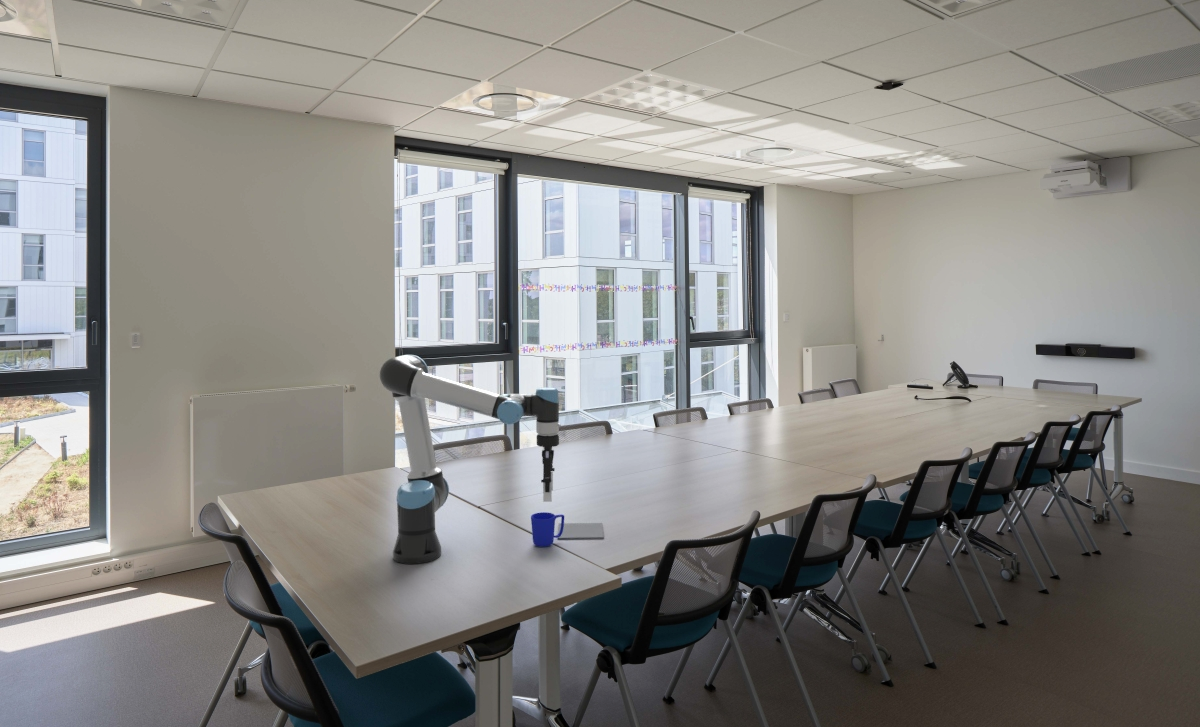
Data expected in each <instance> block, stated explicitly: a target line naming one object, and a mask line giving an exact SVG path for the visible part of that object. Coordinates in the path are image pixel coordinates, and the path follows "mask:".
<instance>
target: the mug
mask: <svg viewBox="0 0 1200 727" xmlns="http://www.w3.org/2000/svg"><path fill="white" fill-rule="evenodd" d="M557 518H561V520H560V521H561V522H560V523H561V529H560V532H559V534H558V533H557V534H556V535H555V527H556V526H555V525H556V519H557ZM530 522H531V524H530V525H531V531H532V532H531V533H532V534H531V535H532V543H533V544H534V546H535V547H538V548H547V547H550V546H552V545H553V543H554V541H555V538H557V539H558V537H560V536H561V534H562V532H563V527H564V523H565V515H564V514H554V513H552V512H545V511H544V512H543V511H542V512H536V513H533V514H532V515H530Z"/></svg>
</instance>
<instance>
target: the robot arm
mask: <svg viewBox="0 0 1200 727" xmlns="http://www.w3.org/2000/svg"><path fill="white" fill-rule="evenodd" d="M379 380H380V383H381V385H382V386H383V387H384V388H385V389H386V390H387V391H388V392H390V393H391V394H392V397H393V398H392V399H394V400H396V401H397V402H398V405H399V411H400V417H401V422H402V428H403V434H404V439H405V445H406V451H407V457H408V462H409V467H410V472H409V473H408V474H407V476H406V477H407V482H404V483H403V484H402V485H400V486H399V487H398V489H397V491H396V492H397V494H396V504H397V505H396V506H397V508H396V510H397V537H396V540H395V543H394V548H393V550H392V559H393V560H394V561H395V562H396V563H399V564H405V565H413V564H414V565H417V564H424V563H428V562H429V563H430V562H432V561H435V560H437V559H438V558H440V557H441V556H442V546H441V542H440V540H439V537H438V535H437V532H436V513H437V511H438V510H439V509H441V507H443V506H444V504H445V503H446V501H447V500H448V497H449V494H450V486H449V484H448V481H447V480H446V478H445V477H444V475H443V470H442V468H440V467H439V466H437V462H436V461H437V460H436V454H435V450H434V444H433V438H432V432H431V427H430V421H429V416H428V415H429V414H428V410H427V403H426V399H428V400H432V401H435V402H439V403H442V404H444V405H449V406H453V407H457V408H460V409H463V410H466V411H469V412H473V413H477V414H479V415H483V416H487V417H490V418H494V419H496V420H499V422H501V423H503V424H505V425H513V424H516V423H518V422H519V421H520V420H521V419H522V417H536V421H535V423H536V425H535V426H536V431H535V432H536V445H537V446H538V447H542V448H544V449H542V450H541V457H542V461H541V462H542V465H543V467H542V468H543V469H542V472H543V474H542V476H543V479H541V480H540V481H541V483H542V489H543V490H542V494H543V497H542V500H543V501H542V502H545V503H547V502H550V503H551V502H552V500H553V499H552V498H553V496H552V494H553V493H552V492H553V491H554V482H553V481H554V479H553V478H554V477H553V476H554V472H555V467H554V465H553V462H554V457H555V456H554V455H555V450H554V449H553V447H558V446H559V445H560V435H559V432H560V430H559V429H560V427H561V423H560V422H559V419H560V414H559V413H560V401H559V400H560V399H559V398H560V397H559V391H558V389H557V388H555V387H549V386H548V387H538V388H537V389H536V390H535V393H513V392H512V393H503V394H502V395H501V394H498V393H495V392H492V391H488V390H484V389H480V388H478V387H473V386H471V385H467V384H464V383H461V382H457V381H454V380H450V379H447V378H443V377H440V376H436V375H433V374H429V368H428V365H427V363H426V362H425V360H423V359H422V358H421V357H419V356H418V355H414V354H403V355H398V356H395V357H391V358H389V359H387V360H386V361H385V362H384V363H383V364H382V366H381V367H380V370H379Z"/></svg>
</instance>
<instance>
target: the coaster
mask: <svg viewBox="0 0 1200 727" xmlns="http://www.w3.org/2000/svg"><path fill="white" fill-rule="evenodd" d="M603 528H604V527H603V523H602V522H584V523H583V522H575V523H573V522H568V523H567V522H566V523H565V522H564V527H563V532H562V534H561V536H560V537H558V538H557V540H558V541H559V540H604V538H605V535H604V529H603ZM560 529H561V522H560V523H558V526H557V535H558V534H559V532H560Z"/></svg>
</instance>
